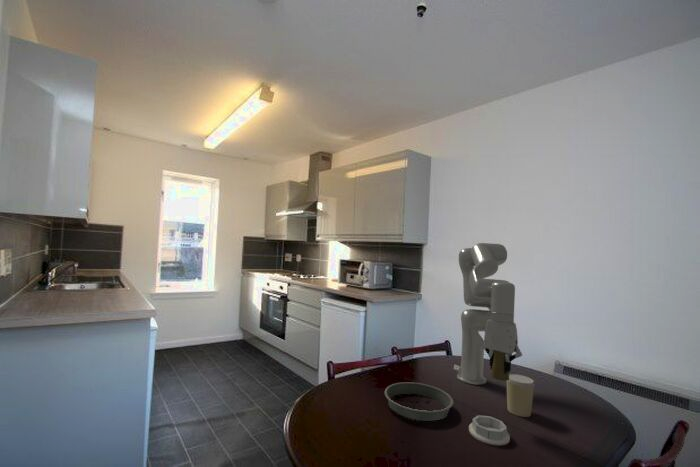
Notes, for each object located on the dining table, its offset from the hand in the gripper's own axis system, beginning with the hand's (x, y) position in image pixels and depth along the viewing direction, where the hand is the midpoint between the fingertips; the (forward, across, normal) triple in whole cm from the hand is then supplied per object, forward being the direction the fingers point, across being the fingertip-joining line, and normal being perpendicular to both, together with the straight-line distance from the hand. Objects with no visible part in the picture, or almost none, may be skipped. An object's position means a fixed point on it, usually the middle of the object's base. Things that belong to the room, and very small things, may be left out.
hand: (499, 370), depth 116 cm
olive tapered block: (+2, 0, 0) cm, 2 cm away
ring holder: (+17, +2, -11) cm, 21 cm away
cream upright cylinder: (+17, +2, +14) cm, 22 cm away
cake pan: (+18, -23, -14) cm, 32 cm away
